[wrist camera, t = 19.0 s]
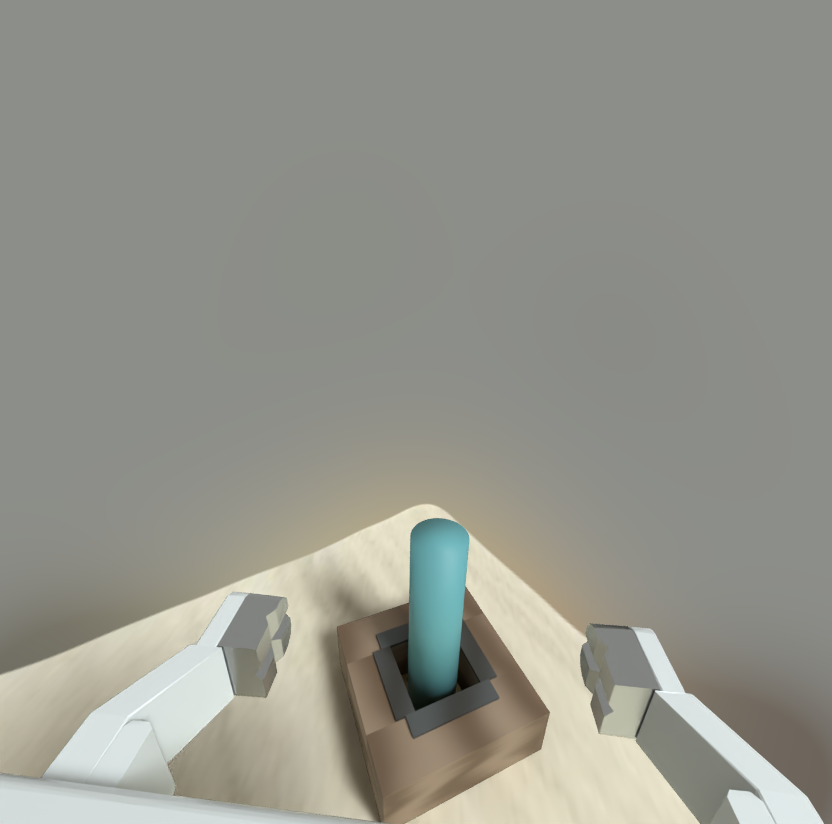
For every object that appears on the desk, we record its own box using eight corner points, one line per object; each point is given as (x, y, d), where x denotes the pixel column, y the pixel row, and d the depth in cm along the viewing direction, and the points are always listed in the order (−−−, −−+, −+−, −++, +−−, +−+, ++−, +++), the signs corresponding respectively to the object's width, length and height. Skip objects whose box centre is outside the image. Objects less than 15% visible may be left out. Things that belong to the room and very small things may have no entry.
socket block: (384, 834, 29) (383, 795, 27) (340, 661, 41) (336, 624, 39) (541, 749, 34) (550, 709, 32) (461, 617, 46) (464, 582, 44)
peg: (418, 729, 34) (424, 563, 28) (400, 681, 38) (402, 525, 31) (463, 709, 36) (480, 548, 29) (442, 665, 40) (452, 513, 33)
